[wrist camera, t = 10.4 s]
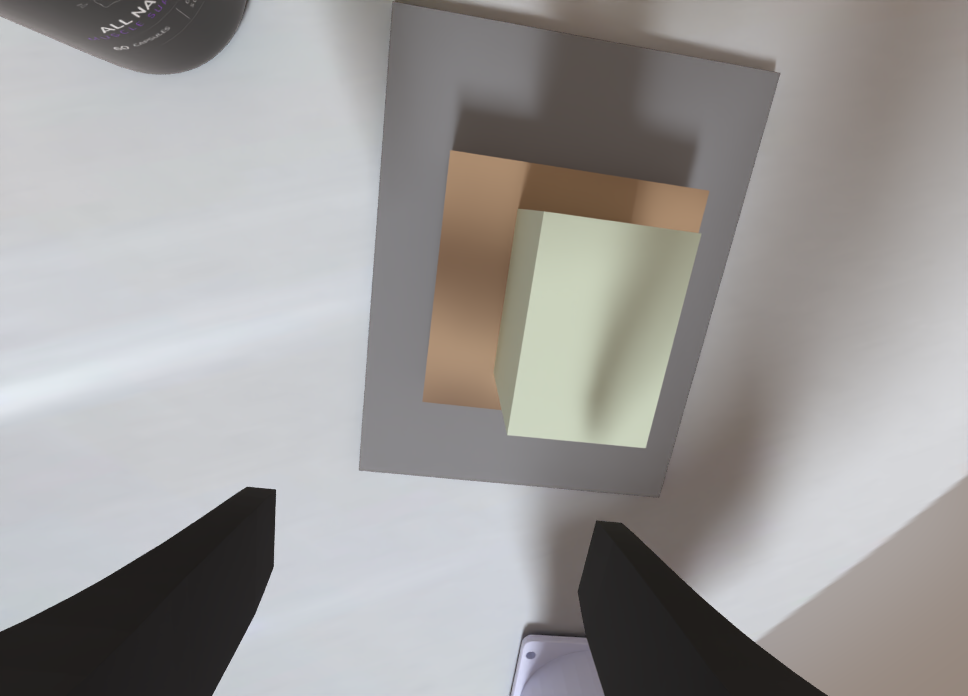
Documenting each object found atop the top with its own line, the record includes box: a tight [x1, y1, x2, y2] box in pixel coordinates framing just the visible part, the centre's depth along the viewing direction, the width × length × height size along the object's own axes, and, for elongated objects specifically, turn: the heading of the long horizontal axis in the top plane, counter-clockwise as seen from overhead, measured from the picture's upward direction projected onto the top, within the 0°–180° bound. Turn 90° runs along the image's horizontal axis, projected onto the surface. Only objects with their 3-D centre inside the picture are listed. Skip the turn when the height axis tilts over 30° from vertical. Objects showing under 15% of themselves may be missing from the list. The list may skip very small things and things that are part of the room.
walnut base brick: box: [422, 150, 709, 410], centre depth 18 cm, size 9×9×2 cm
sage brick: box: [494, 209, 701, 448], centre depth 15 cm, size 6×4×5 cm, turn 172°
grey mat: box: [359, 2, 780, 497], centre depth 19 cm, size 18×14×1 cm
